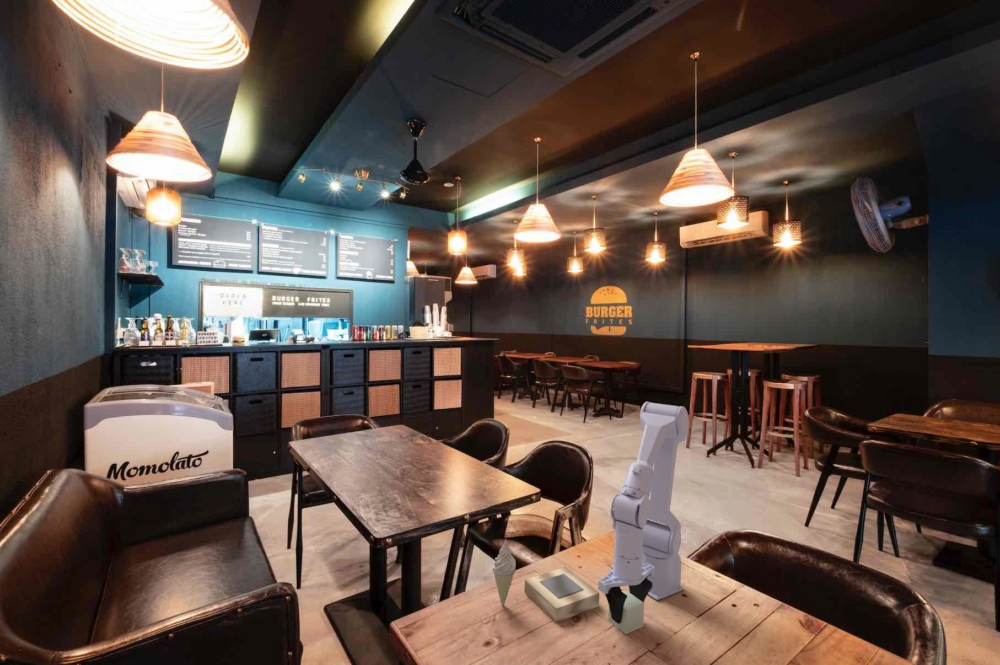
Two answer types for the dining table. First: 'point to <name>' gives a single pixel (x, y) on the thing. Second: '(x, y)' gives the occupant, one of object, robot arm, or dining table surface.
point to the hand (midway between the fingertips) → (625, 616)
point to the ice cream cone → (504, 571)
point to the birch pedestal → (561, 594)
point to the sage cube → (630, 614)
